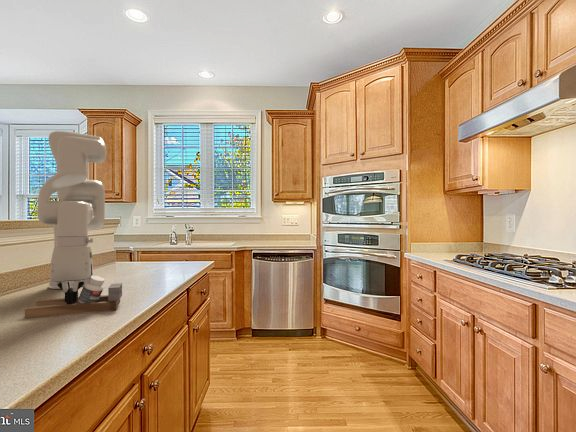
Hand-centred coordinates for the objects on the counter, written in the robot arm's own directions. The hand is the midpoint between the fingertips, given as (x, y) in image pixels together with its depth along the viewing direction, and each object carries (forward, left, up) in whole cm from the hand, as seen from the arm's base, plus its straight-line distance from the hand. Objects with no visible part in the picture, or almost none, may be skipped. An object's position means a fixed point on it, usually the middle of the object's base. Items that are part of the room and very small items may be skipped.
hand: (71, 304), depth 92 cm
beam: (-1, +1, -2) cm, 2 cm away
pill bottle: (-1, +3, -1) cm, 4 cm away
